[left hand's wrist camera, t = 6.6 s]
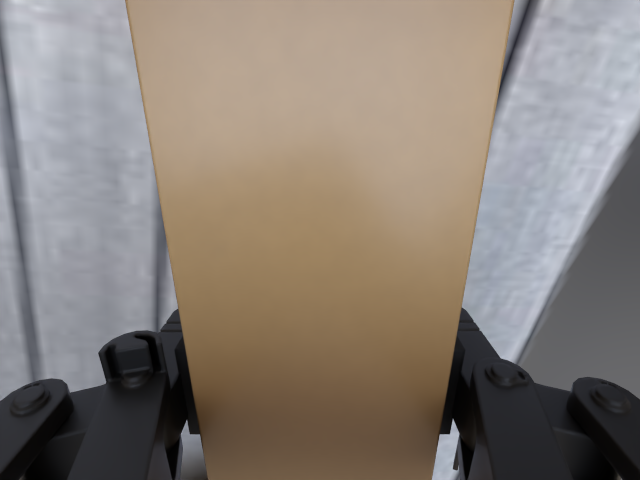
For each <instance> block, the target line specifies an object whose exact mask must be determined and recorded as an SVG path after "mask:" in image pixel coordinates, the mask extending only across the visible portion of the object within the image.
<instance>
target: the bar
mask: <svg viewBox="0 0 640 480" xmlns="http://www.w3.org/2000/svg"><path fill="white" fill-rule="evenodd" d="M125 2H126V8H127V14H128V19H129V25H130V31H131V37H132V43H133V48H134V54H135V60H136V66H137V72H138V77H139V83H140V89H141V95H142V100H143V106H144V112H145V118H146V124H147V129H148V135H149V141H150V147H151V153H152V158H153V164H154V170H155V176H156V181H157V187H158V193H159V199H160V205H161V210H162V216H163V222H164V228H165V234H166V239H167V245H168V251H169V257H170V263H171V268H172V274H173V280H174V286H175V291H176V297H177V303H178V309H179V315H180V320H181V326H182V332H183V338H184V344H185V349H186V355H187V361H188V367H189V372H190V378H191V384H192V390H193V396H194V401H195V407H196V413H197V419H198V425H199V430H200V436H201V442H202V448H203V453H204V459H205V465H206V471H207V477H208V480H432V475H433V469H434V463H435V458H436V452H437V446H438V440H439V435H440V429H441V423H442V417H443V411H444V406H445V400H446V394H447V388H448V382H449V377H450V371H451V365H452V359H453V353H454V348H455V342H456V336H457V330H458V324H459V319H460V313H461V307H462V301H463V295H464V290H465V284H466V278H467V272H468V266H469V261H470V255H471V249H472V243H473V237H474V232H475V226H476V220H477V214H478V208H479V203H480V197H481V191H482V185H483V179H484V174H485V168H486V162H487V156H488V150H489V145H490V139H491V133H492V127H493V122H494V116H495V110H496V104H497V98H498V93H499V87H500V81H501V75H502V69H503V64H504V58H505V52H506V46H507V40H508V35H509V29H510V23H511V17H512V11H513V6H514V0H125Z"/></svg>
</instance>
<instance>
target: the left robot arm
mask: <svg viewBox="0 0 640 480" xmlns="http://www.w3.org/2000/svg"><path fill="white" fill-rule="evenodd" d="M98 354H99V357H100V361H101V364H102V368H103V371H104V375H105V378H106V384H105V385H101V386H98V387H94V388H89V389H85V390H80V391H76V392H72V393H70V392H69V389H68V386H67V384H66V383H65V382H64V381H62V380H59V379H45V380H39V381H36V382H33V383H30V384H28V385H25V386H23V387H21V388H19V389H17V390H16V391H14V392H12V393H11V394H9V395H8V396H7V397H5V398H4V399H3V400H1V401H0V480H180V472H181V463H182V453H183V445H182V439H181V432H182V430H183V427H184V425H185V423H186V420H187V421H188V426H189V432H190V434H200V430H199V425H198V419H197V413H196V407H195V401H194V396H193V390H192V384H191V378H190V372H189V367H188V361H187V355H186V349H185V344H184V338H183V332H182V326H181V320H180V315H179V309H177V310H176V311H174V312H173V313H172V315H171V316H170V318H169V319H168V320H167V323H166V324H165V325H164V326H163V327H162V329H161V332H159V333H158V334H157V333H156V332H152V331H148V330H147V331H134V332H130V333H126V334H123V335H121V336H119V337H117V338H114V339H113V340H111V341H110V342H108V343H107V344H106V345H104V346H103V348H102V349H101V350H100V351H99V353H98ZM453 419H454V422H455V424H456V426H457V429H458V431H459V433H460V434H459V439H458V444H457V449H456V454H455V459H454V465H453V469H454V470H458V466H459V472H460V480H621V478H622V480H640V399H638V398H637V397H636V396H634V395H633V394H632V393H630V392H629V391H628V390H626V389H624V388H622V387H620V386H618V385H616V384H614V383H611V382H608V381H606V380H603V379H598V378H591V377H585V378H578V379H577V380H576V381H575V382H574V383H573V385H572V388H571V391H566V390H562V389H557V388H553V387H548V386H544V385H540V384H537V383H534V381H533V380H532V378H531V377H530V375H529V374H528V373H527V372H526V371H525V370H523V369H522V368H521V367H520V366H518V365H516V364H514V363H512V362H510V361H508V360H504V359H501V358H500V357H499V356H498V354H497V353H496V351H495V350H494V349H493V347H492V346H491V344H490V343H489V342H488V340H487V339H486V337H485V336H484V335H483V333H482V332H481V331H479V328H478V326H477V325H476V323H474V322H473V319H472V318H471V316H470V315H469V314H468V312H467V311H466V310H465V309H463V308H462V307H461V313H460V319H459V324H458V330H457V336H456V342H455V348H454V353H453V359H452V365H451V371H450V377H449V382H448V388H447V394H446V400H445V406H444V411H443V417H442V423H441V429H440V434H450V430H451V425H452V420H453Z"/></svg>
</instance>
